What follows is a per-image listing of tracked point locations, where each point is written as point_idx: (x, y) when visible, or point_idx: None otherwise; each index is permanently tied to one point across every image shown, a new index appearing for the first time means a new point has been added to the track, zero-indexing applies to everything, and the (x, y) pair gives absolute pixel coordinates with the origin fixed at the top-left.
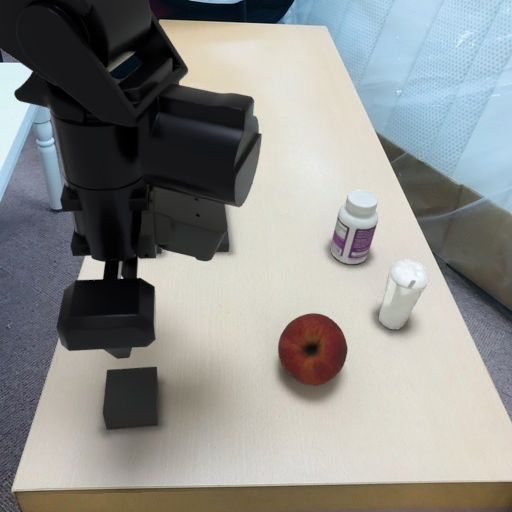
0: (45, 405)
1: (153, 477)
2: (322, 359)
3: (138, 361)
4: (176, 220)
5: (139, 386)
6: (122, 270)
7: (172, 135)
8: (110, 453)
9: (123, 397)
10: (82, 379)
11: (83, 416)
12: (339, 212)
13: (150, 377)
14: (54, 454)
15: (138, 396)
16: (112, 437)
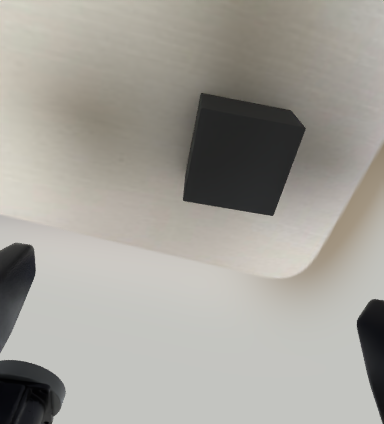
0: (194, 258)
1: (377, 133)
2: None
3: (141, 122)
4: None
5: (240, 151)
6: (14, 313)
7: None
8: (305, 188)
9: (254, 181)
10: (161, 213)
11: (229, 216)
12: None
13: (225, 126)
14: (274, 251)
15: (262, 156)
16: None
